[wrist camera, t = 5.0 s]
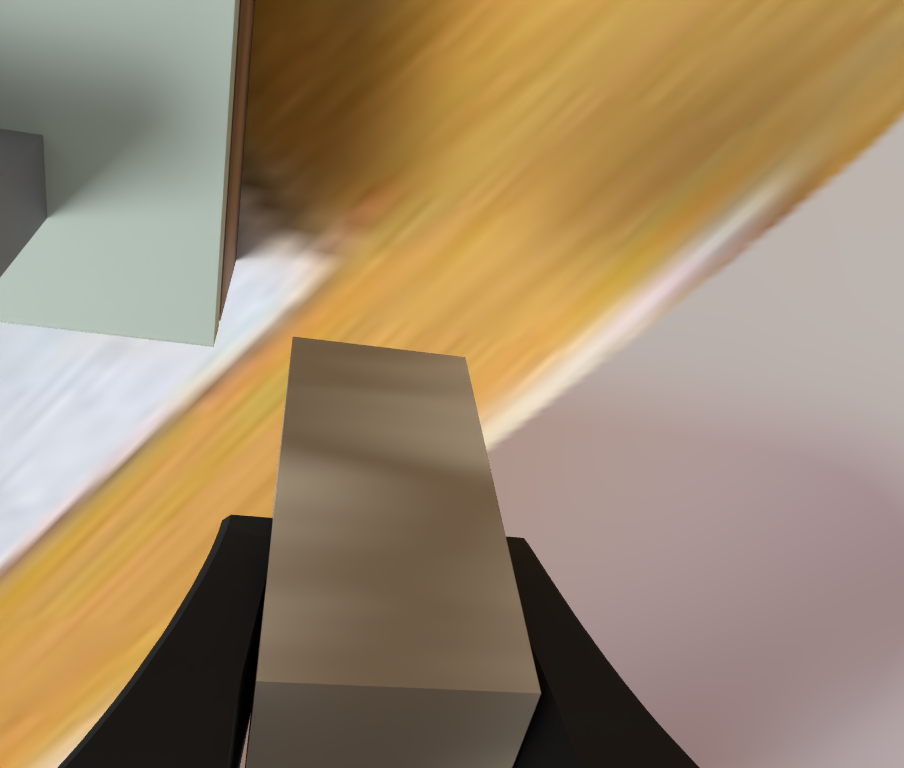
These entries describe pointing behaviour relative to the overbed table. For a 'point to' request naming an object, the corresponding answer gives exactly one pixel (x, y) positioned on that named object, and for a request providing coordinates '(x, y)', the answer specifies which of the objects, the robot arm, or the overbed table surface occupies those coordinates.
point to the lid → (115, 164)
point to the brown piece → (237, 143)
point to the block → (387, 575)
